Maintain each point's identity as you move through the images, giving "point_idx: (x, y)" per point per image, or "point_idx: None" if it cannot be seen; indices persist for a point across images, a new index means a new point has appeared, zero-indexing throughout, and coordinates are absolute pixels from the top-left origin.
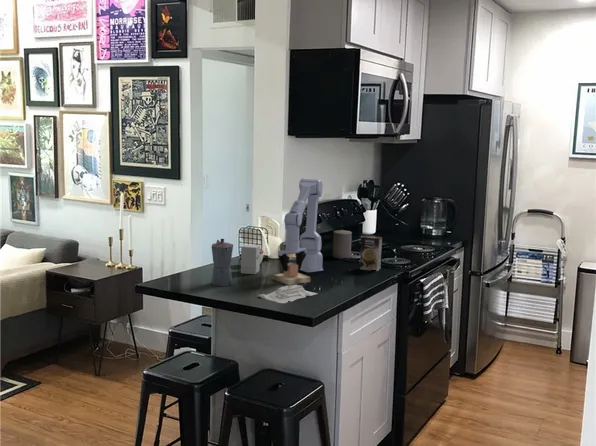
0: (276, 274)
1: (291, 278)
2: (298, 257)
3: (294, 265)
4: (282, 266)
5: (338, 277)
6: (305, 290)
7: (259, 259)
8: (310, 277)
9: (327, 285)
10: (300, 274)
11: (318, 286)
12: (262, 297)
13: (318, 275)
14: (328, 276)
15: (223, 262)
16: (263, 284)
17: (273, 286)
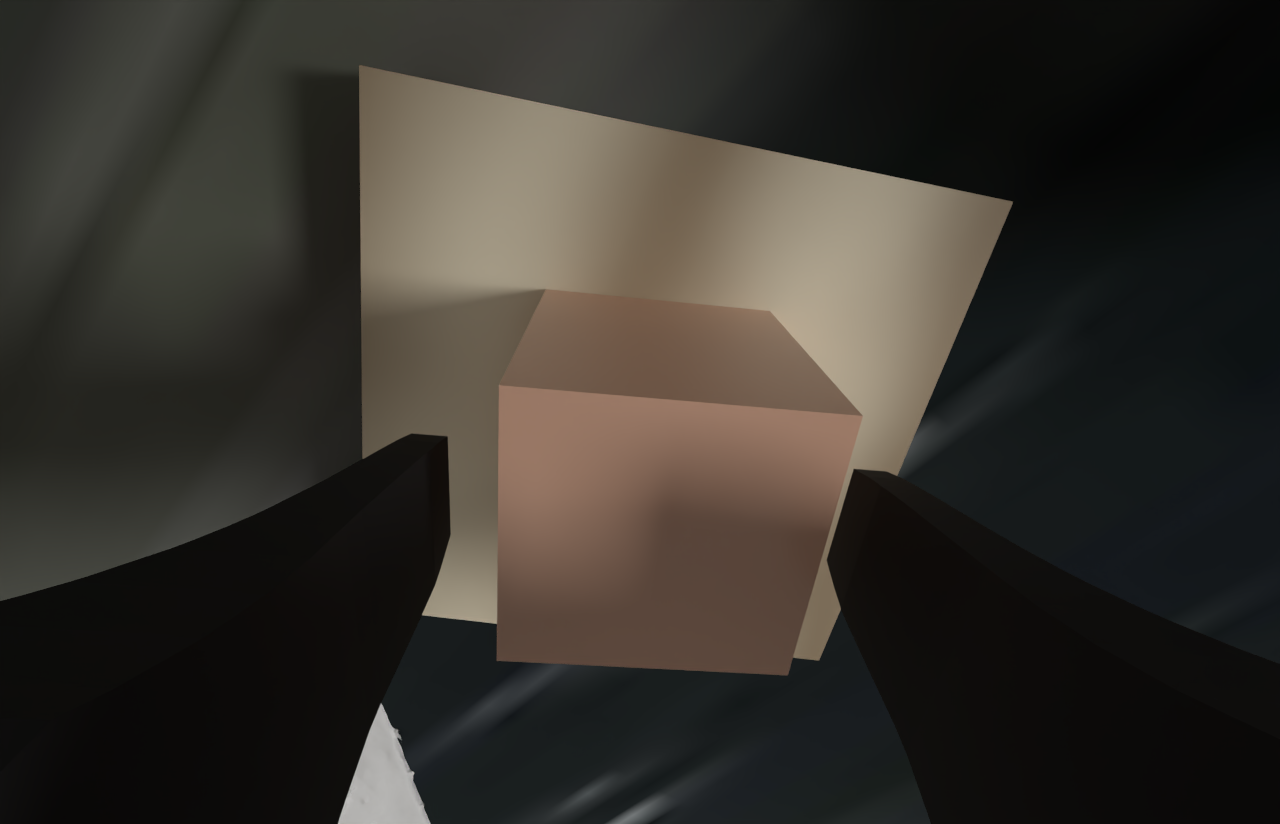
0: (436, 124)
1: (491, 567)
2: (1030, 800)
3: (656, 666)
4: (344, 478)
5: (1276, 642)
6: (415, 820)
7: None
8: (816, 654)
9: (803, 789)
10: (855, 456)
11: (688, 770)
12: None
13: (1265, 408)
14: (1271, 538)
15: None
16: (10, 286)
17: (139, 485)
